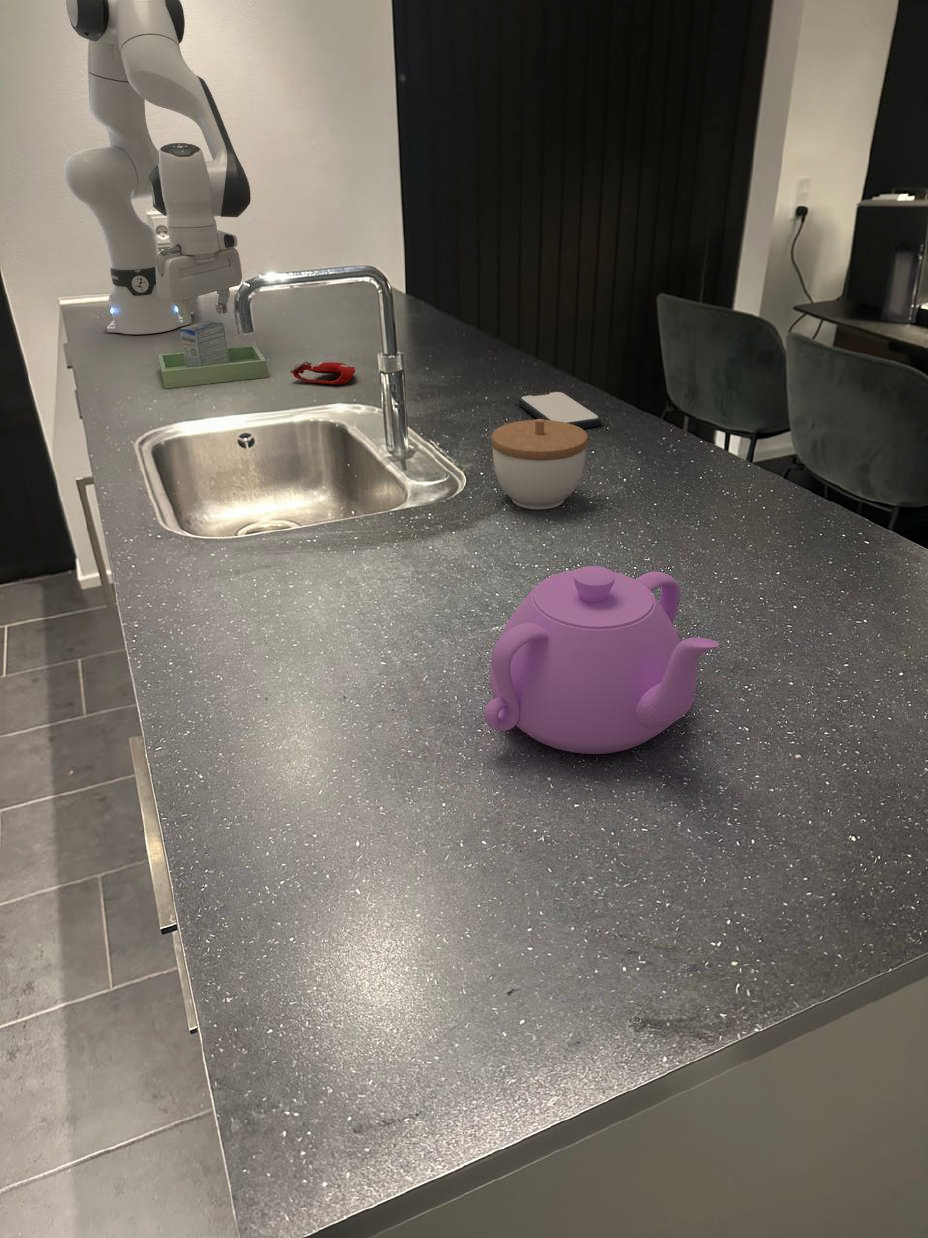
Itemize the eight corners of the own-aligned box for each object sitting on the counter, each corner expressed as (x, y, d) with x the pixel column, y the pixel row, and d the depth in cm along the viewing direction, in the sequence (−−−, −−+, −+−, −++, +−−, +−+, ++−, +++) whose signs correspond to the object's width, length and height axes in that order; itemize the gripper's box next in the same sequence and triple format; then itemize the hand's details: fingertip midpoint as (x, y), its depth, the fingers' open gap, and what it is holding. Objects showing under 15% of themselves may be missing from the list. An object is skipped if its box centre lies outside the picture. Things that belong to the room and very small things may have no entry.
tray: (160, 370, 184) (157, 354, 182) (257, 360, 189) (255, 344, 188) (165, 388, 173) (162, 371, 171) (267, 377, 178) (265, 360, 177)
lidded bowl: (558, 476, 130) (561, 400, 124) (601, 508, 119) (606, 428, 114) (477, 489, 126) (476, 412, 120) (514, 524, 116) (515, 441, 110)
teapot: (597, 848, 66) (609, 694, 59) (431, 708, 81) (424, 573, 74) (786, 736, 77) (815, 594, 70) (608, 631, 92) (617, 507, 85)
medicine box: (214, 363, 185) (207, 319, 180) (230, 366, 183) (224, 322, 178) (186, 372, 179) (178, 328, 175) (202, 375, 177) (195, 330, 173)
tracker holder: (340, 364, 181) (366, 361, 173) (340, 387, 182) (367, 385, 174) (285, 360, 174) (310, 357, 166) (286, 384, 174) (311, 381, 167)
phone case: (603, 427, 149) (561, 399, 162) (604, 418, 148) (561, 390, 161) (554, 434, 146) (516, 405, 159) (554, 425, 145) (516, 396, 158)
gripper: (167, 250, 160) (181, 330, 167) (242, 235, 175) (252, 309, 182) (141, 248, 162) (155, 327, 169) (217, 233, 178) (227, 306, 185)
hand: (206, 317), depth 176 cm, fingers open, 8 cm apart
